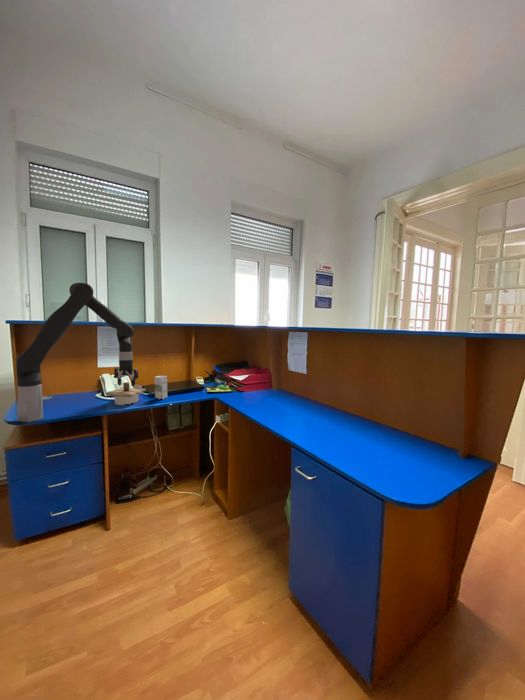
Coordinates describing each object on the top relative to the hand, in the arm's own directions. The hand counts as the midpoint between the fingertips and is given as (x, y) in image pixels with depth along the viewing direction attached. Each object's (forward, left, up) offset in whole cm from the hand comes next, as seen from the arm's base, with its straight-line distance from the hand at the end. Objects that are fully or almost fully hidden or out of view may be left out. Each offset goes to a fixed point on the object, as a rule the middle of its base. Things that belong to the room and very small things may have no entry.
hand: (126, 385), depth 177 cm
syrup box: (+12, -16, -10) cm, 22 cm away
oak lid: (0, 0, -5) cm, 5 cm away
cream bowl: (0, 0, -10) cm, 10 cm away
